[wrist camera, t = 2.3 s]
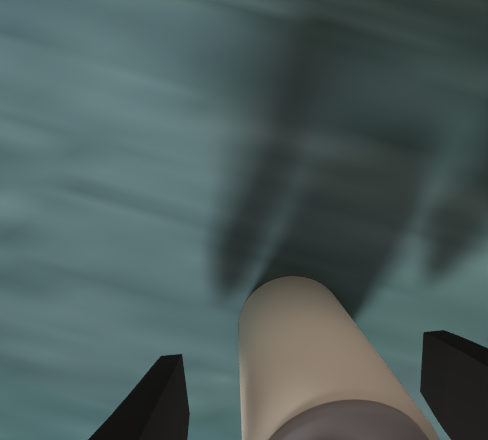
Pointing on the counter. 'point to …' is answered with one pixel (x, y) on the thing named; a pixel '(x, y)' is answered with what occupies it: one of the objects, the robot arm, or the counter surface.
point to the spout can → (316, 371)
